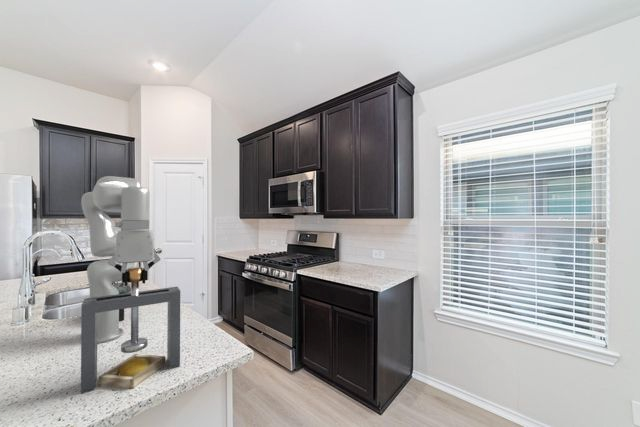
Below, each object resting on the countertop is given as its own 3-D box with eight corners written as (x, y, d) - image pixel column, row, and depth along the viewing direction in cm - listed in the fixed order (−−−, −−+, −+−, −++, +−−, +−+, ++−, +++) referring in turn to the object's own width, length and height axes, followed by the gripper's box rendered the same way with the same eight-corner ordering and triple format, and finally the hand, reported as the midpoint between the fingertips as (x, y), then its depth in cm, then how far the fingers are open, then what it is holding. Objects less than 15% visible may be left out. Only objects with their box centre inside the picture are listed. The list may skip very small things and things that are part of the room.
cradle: (98, 385, 81) (98, 376, 81) (134, 361, 95) (134, 353, 95) (133, 388, 80) (133, 379, 80) (165, 363, 93) (165, 356, 93)
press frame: (84, 381, 83) (84, 298, 83) (176, 357, 97) (177, 286, 97) (80, 394, 77) (81, 304, 77) (179, 366, 91) (180, 291, 92)
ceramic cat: (127, 320, 131) (128, 278, 131) (110, 324, 126) (111, 281, 126) (117, 311, 144) (117, 272, 144) (101, 314, 139) (101, 274, 139)
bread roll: (121, 386, 81) (121, 372, 81) (117, 373, 88) (118, 360, 88) (153, 375, 87) (153, 362, 87) (148, 364, 93) (148, 352, 93)
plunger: (121, 346, 88) (121, 267, 88) (147, 340, 92) (147, 265, 92) (120, 355, 82) (121, 271, 83) (148, 348, 86) (148, 268, 87)
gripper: (100, 227, 80) (100, 290, 80) (166, 225, 89) (166, 282, 89) (102, 226, 86) (102, 285, 86) (164, 225, 95) (164, 278, 95)
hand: (135, 283), depth 87 cm, fingers closed on plunger, 4 cm apart
